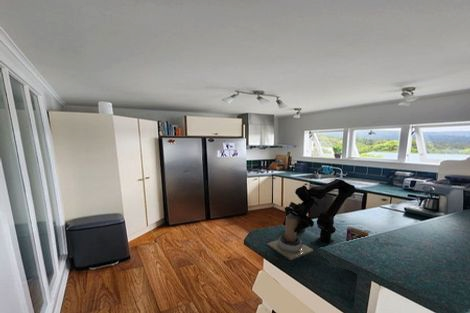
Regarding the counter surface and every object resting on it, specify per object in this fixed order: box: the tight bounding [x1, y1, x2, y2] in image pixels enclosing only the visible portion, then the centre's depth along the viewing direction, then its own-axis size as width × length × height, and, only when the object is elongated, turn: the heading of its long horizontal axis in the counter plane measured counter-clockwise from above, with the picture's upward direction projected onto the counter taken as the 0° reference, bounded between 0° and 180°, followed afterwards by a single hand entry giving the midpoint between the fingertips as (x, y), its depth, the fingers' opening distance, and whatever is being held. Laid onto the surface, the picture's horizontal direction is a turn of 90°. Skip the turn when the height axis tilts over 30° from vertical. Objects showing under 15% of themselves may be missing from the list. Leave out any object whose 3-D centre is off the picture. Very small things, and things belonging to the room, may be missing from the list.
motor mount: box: [267, 234, 314, 261], centre depth 113 cm, size 17×17×5 cm
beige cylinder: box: [284, 214, 298, 242], centre depth 112 cm, size 6×6×14 cm
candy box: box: [345, 226, 370, 242], centre depth 103 cm, size 9×4×15 cm, turn 47°
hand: (288, 228), depth 111 cm, fingers open, 9 cm apart
